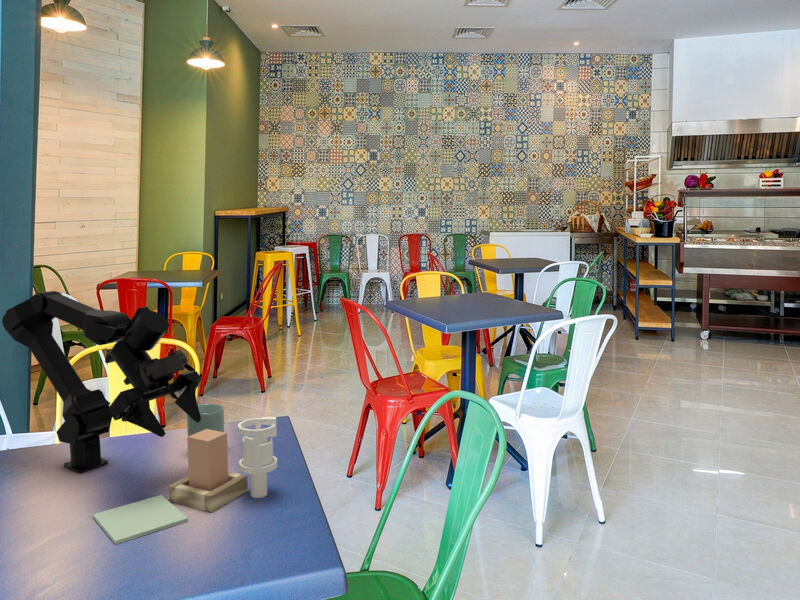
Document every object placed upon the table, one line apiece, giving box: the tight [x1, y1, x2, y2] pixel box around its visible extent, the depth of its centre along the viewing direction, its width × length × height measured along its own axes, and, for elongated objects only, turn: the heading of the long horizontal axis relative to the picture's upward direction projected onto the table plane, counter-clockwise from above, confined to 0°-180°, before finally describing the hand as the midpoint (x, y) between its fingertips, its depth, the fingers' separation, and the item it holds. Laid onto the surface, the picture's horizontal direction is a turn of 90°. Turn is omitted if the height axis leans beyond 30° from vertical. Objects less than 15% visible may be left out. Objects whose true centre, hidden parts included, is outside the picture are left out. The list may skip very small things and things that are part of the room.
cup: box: [186, 403, 225, 437], centre depth 140 cm, size 8×8×10 cm
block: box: [186, 429, 229, 491], centre depth 118 cm, size 5×5×12 cm
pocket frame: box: [168, 471, 249, 513], centre depth 118 cm, size 10×10×3 cm
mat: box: [92, 494, 189, 545], centre depth 109 cm, size 12×12×1 cm
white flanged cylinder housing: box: [237, 416, 278, 499], centre depth 118 cm, size 7×7×15 cm
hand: (182, 428), depth 120 cm, fingers open, 9 cm apart
